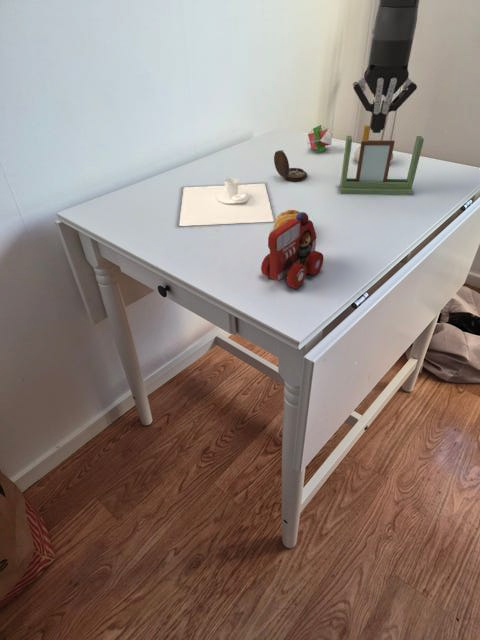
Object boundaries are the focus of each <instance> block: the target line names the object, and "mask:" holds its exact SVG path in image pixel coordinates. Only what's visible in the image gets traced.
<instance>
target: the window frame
mask: <svg viewBox="0 0 480 640" xmlns="http://www.w3.org/2000/svg"><path fill="white" fill-rule="evenodd" d="M352 143H353V137H352V135H346V138H345V146H344V151H343V152H344V153H343V161H342V167H341V176H340V182H339V191H340V194H346V195H347V194H348V195H350V194H352V195H353V194H354V195H404V196H405V195H409V196H410V195H412V194H413V185H414V181H415V178H416V173H417V170H418V165H419V162H420V157H421V153H422V149H423V145H424V138H423V136H422V135H416V138H415V141H414V146H413V150H412V154H411V159H410V164H409V168H408V171H407V172H408V173H407V177H406V178H387V182H355V180H356V177H355V178H351V177H350V178H349V177H348V172H349V164H350V158H351V152H352V151H351V150H352Z"/></svg>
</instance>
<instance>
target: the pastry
mask: <svg viewBox="0 0 480 640" xmlns="http://www.w3.org/2000/svg"><path fill="white" fill-rule="evenodd" d="M300 212H301V211H298V210H296V209H287V210H285V211H281V213H279V214H278V215H277V216H276V218H275V219H274V224H273V230H275V229H277V228H278V227H280V226H282V225H283V224H285V223H286V222H288V221H289V220H291V219H296V216H297V215H298V214H299V213H300Z"/></svg>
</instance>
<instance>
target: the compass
mask: <svg viewBox="0 0 480 640" xmlns="http://www.w3.org/2000/svg"><path fill="white" fill-rule="evenodd" d="M284 151H285V149H284V150H281V149H279V150H277V151H275V152H274V155H273V163H274V168H275V170H276V172H277V173H278V175H279V176H280V177H282V178H283V179H284V180H286V181H290V182H300V181H304V179H306V178H307V176H308V174H307V172H306V171H305V170H304V169H303V168H300V167H290V164H289V160H288V156H287V155H286V153H285V152H284Z"/></svg>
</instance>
